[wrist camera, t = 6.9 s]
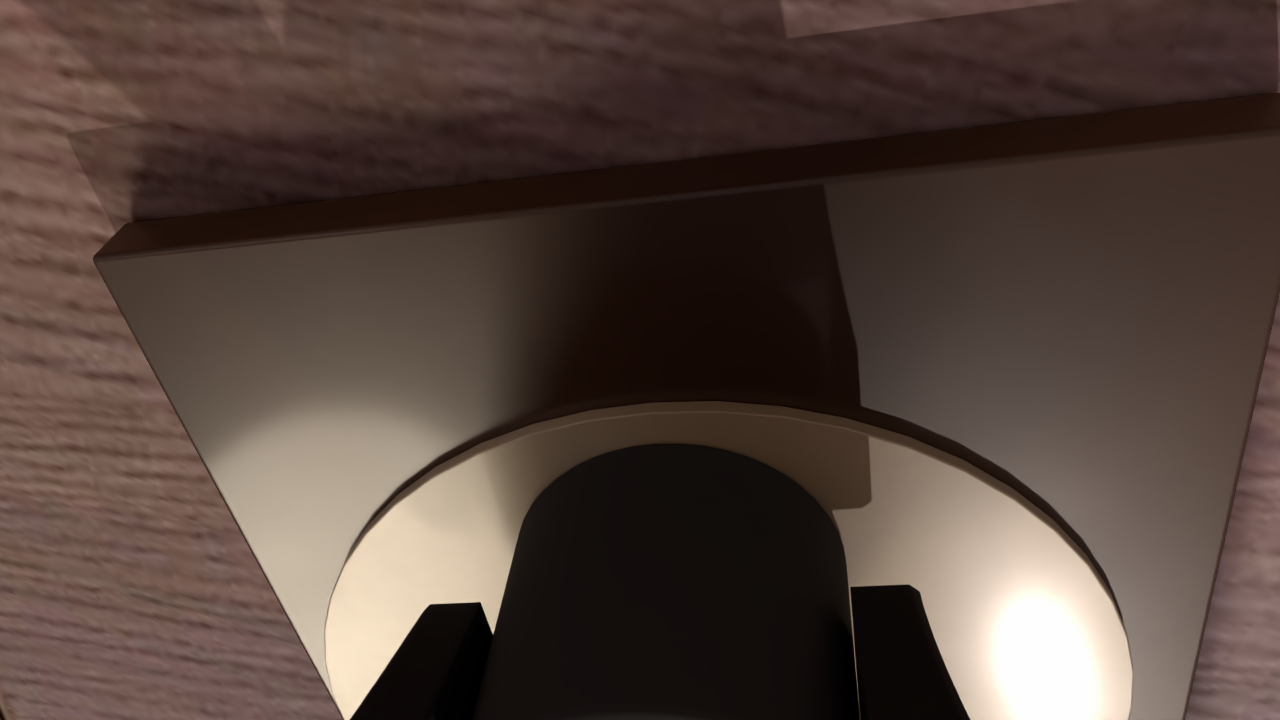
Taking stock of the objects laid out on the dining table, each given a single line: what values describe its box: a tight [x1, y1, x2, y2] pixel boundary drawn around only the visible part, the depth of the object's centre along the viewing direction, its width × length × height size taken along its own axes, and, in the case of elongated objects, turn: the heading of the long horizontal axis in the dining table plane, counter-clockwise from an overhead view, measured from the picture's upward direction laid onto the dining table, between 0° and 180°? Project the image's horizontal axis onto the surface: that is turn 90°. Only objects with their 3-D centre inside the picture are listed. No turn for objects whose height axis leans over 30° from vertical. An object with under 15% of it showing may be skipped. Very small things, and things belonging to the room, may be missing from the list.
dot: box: [472, 444, 860, 720], centre depth 11 cm, size 4×4×4 cm
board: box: [93, 93, 1280, 720], centre depth 15 cm, size 12×16×1 cm
